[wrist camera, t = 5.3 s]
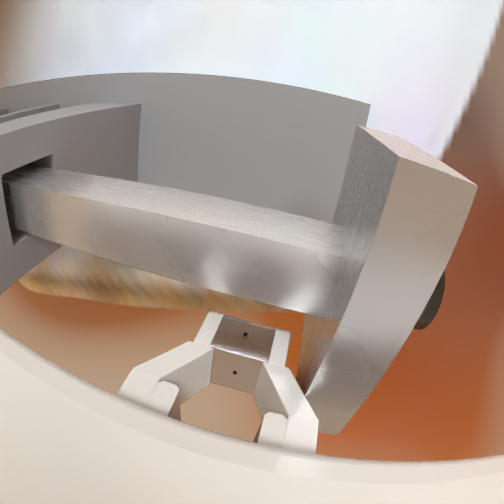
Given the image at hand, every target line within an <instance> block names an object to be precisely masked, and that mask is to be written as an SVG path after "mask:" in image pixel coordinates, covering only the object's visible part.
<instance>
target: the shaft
mask: <svg viewBox="0 0 504 504" xmlns="http://www.w3.org/2000/svg"><path fill="white" fill-rule="evenodd" d="M1 178H2V186H3V193H4V200H5V206H6V212H7V217H8V223H9V226H10V227H13V228H16V229H18V230H21V231H24V232H27V233H30V234H32V235H35V236H38V237H41V238H44V239H47V240H50V241H53V242H56V243H58V244H61V245H64V246H67V247H70V248H73V249H77V250H80V251H83V252H86V253H89V254H92V255H95V256H98V257H101V258H105V259H108V260H111V261H114V262H117V263H121V264H124V265H127V266H130V267H134V268H137V269H140V270H144V271H147V272H151V273H154V274H157V275H161V276H164V277H168V278H171V279H175V280H178V281H182V282H185V283H189V284H193V285H196V286H200V287H204V288H207V289H211V290H215V291H218V292H222V293H226V294H230V295H234V296H237V297H241V298H245V299H249V300H253V301H257V302H261V303H265V304H269V305H273V306H277V307H282V308H286V309H290V310H294V311H298V312H303V313H305V315H304V324H303V333H302V340H301V347H300V355H299V362H298V369H297V376H296V381H297V383H298V385H299V387H300V389H301V390H302V392H303V394H304V396H305V397H306V399H307V401H308V403H309V405H310V406H311V408H312V410H313V412H314V413H315V415H316V417H317V419H318V420H319V425H318V432H319V433H326V434H333V435H337V434H338V433H339V432H340V431H341V430H342V429H343V427H344V426H345V425H346V424H347V423H348V421H349V420H350V419H351V418H352V416H353V415H354V414H355V413H356V411H357V410H358V409H359V407H360V406H361V405H362V403H363V402H364V401H365V399H366V398H367V397H368V395H369V394H370V393H371V391H372V390H373V389H374V387H375V386H376V384H377V383H378V382H379V380H380V379H381V377H382V376H383V374H384V373H385V372H386V370H387V369H388V367H389V366H390V364H391V363H392V361H393V360H394V358H395V357H396V355H397V353H398V352H399V350H400V349H401V347H402V346H403V344H404V342H405V341H406V339H407V337H408V336H409V334H410V333H411V331H412V329H417V330H421V329H424V328H425V327H426V326H428V325H429V324H430V323H431V321H432V320H433V319H434V317H435V315H436V313H437V311H438V309H439V307H440V304H441V300H442V297H443V293H444V286H445V271H444V269H445V267H446V265H447V263H448V261H449V258H450V256H451V254H452V252H453V250H454V247H455V244H456V243H457V240H458V238H459V235H460V233H461V231H462V228H463V226H464V223H465V221H466V218H467V216H468V213H469V210H470V207H471V205H472V202H473V199H474V196H475V193H476V190H477V188H478V186H477V185H475V184H474V183H473V182H471V181H470V180H468V179H467V178H466V177H464V176H463V175H461V174H460V173H458V172H457V171H455V170H453V169H452V168H450V167H449V166H447V165H446V164H444V163H442V162H441V161H439V160H438V159H436V158H434V157H433V156H431V155H429V154H428V153H426V152H424V151H423V150H421V149H419V148H417V147H416V146H414V145H412V144H410V143H409V142H407V141H405V140H403V139H401V138H399V137H396V136H393V135H390V134H387V133H384V132H380V131H377V130H374V129H370V128H367V127H363V126H360V125H356V130H355V134H354V139H353V143H352V147H351V151H350V155H349V160H348V164H347V168H346V172H345V176H344V179H343V183H342V187H341V191H340V195H339V199H338V202H337V206H336V210H335V213H334V217H333V220H332V223H328V222H324V221H320V220H316V219H312V218H308V217H304V216H300V215H295V214H291V213H287V212H283V211H278V210H274V209H269V208H265V207H261V206H256V205H252V204H247V203H242V202H238V201H233V200H228V199H223V198H219V197H214V196H209V195H204V194H199V193H194V192H189V191H184V190H178V189H173V188H168V187H162V186H157V185H151V184H146V183H140V182H134V181H129V180H123V179H117V178H111V177H105V176H98V175H92V174H85V173H79V172H72V171H65V170H58V169H51V168H43V167H35V166H28V165H23V166H21V167H19V168H16V169H14V170H12V171H9V172H7V173H5V174H3V175H1Z"/></svg>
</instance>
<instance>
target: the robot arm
mask: <svg viewBox="0 0 504 504" xmlns="http://www.w3.org/2000/svg"><path fill="white" fill-rule="evenodd" d="M290 335H291V333H290V331H285V330H280V329H276V330H275V328H272V327H267V326H264V325H259V324H255V323H251V322H248V321H244V320H241V319H237V318H234V317H230V316H227V315H223V314H219V313H216V312H213V311H210V312H209V313H208V314H207V316H206V318H205V320H204V322H203V324H202V326H201V328H200V329H199V332H198V334H197V335H196V337H195V340H194V341H193V342H191V341H188V342H186V343H184V344H182V345H180V346H178V347H176V348H174V349H172V350H170V351H167V352H165V353H163V354H161V355H159V356H157V357H155V358H153V359H151V360H149V361H147V362H145V363H142V364H140V365H138V366H136V367H134V368H133V369H132V371H131V372H130V374H129V375H128V377H127V378H126V380H125V382H124V384H123V385H122V387H121V388H120V390H119V391H118V393H117V394H116V395H114V394H112V393H110V392H108V391H106V390H103V389H101V388H99V387H97V386H95V385H93V384H91V383H89V382H87V381H85V380H83V379H81V378H80V377H78V376H76V375H74V374H72V373H70V372H68V371H67V370H65V369H63V368H61V367H59V366H58V365H56V364H54V363H53V362H51V361H49V360H47V359H46V358H44V357H42V356H41V355H39V354H37V353H36V352H34V351H33V350H31V349H30V348H28V347H27V346H25V345H23V344H22V343H20V342H19V341H17V340H16V339H14V338H13V337H12V336H10V335H8V334H7V333H6V332H4V331H3V330H2V329H0V504H504V454H500V455H494V456H487V457H479V458H470V459H459V460H444V461H379V460H363V459H351V458H341V457H333V456H325V455H318V454H315V452H316V443H317V434H318V425H319V420H318V419H317V417H316V415H315V413H314V412H313V410H312V408H311V406H310V405H309V403H308V401H307V399H306V397H305V396H304V394H303V392H302V390H301V389H300V387H299V385H298V383H297V381H296V380H295V378H294V376H293V374H292V373H291V371H290V369H289V368H286V367H285V364H286V358H287V352H288V347H289V340H290ZM210 382H211V383H215V384H218V385H223V386H226V387H230V388H234V389H237V390H240V391H244V392H247V393H251V394H253V396H254V399H255V402H256V405H257V408H258V410H259V413H260V416H261V419H262V422H261V425H260V427H259V429H258V432H257V434H256V436H255V439H254V441H253V442H250V441H246V440H242V439H238V438H234V437H230V436H227V435H223V434H220V433H216V432H213V431H209V430H206V429H203V428H200V427H196V426H193V425H190V424H187V423H184V422H182V421H181V417H180V404H181V403H183V402H185V401H186V400H187V399H189V398H190V397H192V396H193V395H195V394H196V393H197V392H199V391H200V390H201V389H203V388H204V387H206V386H207V385H208V384H210Z"/></svg>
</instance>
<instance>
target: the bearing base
mask: <svg viewBox="0 0 504 504" xmlns="http://www.w3.org/2000/svg"><path fill="white" fill-rule="evenodd" d="M369 109H370V104H367V103H363V102H360V101H356V100H352V99H349V98H345V97H341V96H337V95H333V94H328V93H324V92H320V91H315V90H310V89H305V88H300V87H295V86H290V85H284V84H279V83H272V82H266V81H259V80H252V79H244V78H236V77H226V76H216V75H203V74H186V73H113V74H97V75H85V76H75V77H66V78H58V79H51V80H44V81H38V82H32V83H27V84H21V85H16V86H12V87H7V88H2V89H0V295H1V294H2V293H3V292H4V291H5V290H7V289H8V288H9V287H10V286H11V285H12V284H14V283H15V282H16V281H17V280H18V279H20V278H21V277H22V276H23V275H24V274H26V273H27V272H28V271H29V270H30V269H32V268H33V267H34V266H35V265H37V264H38V263H39V262H41V261H42V260H43V259H44V258H46V257H47V256H48V255H49V254H51V253H52V252H53V251H55V250H56V249H57V248H59V247H60V246H61V244H58V243H56V242H53V241H50V240H47V239H44V238H41V237H38V236H35V235H32V234H30V233H27V232H24V231H21V230H18V229H16V228H13V227H10V226H9V223H8V217H7V212H6V206H5V200H4V193H3V186H2V178H1V175H3V174H5V173H7V172H9V171H12V170H14V169H16V168H19V167H21V166H23V165H28V166H35V167H43V168H51V169H58V170H65V171H72V172H79V173H85V174H92V175H98V176H105V177H111V178H117V179H123V180H129V181H134V182H140V183H146V184H151V185H157V186H162V187H168V188H173V189H178V190H184V191H189V192H194V193H199V194H204V195H209V196H214V197H219V198H223V199H228V200H233V201H238V202H242V203H247V204H252V205H256V206H261V207H265V208H269V209H274V210H278V211H283V212H287V213H291V214H295V215H300V216H304V217H308V218H312V219H316V220H320V221H324V222H328V223H332V220H333V217H334V213H335V210H336V206H337V202H338V199H339V195H340V191H341V187H342V183H343V179H344V176H345V172H346V168H347V164H348V160H349V155H350V151H351V147H352V143H353V139H354V134H355V130H356V125H360V126H363V127H366V123H367V118H368V114H369Z"/></svg>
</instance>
